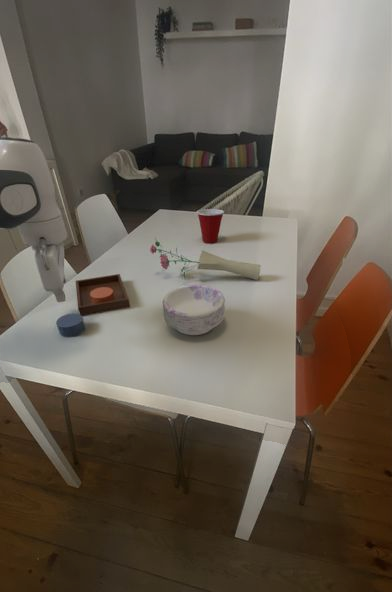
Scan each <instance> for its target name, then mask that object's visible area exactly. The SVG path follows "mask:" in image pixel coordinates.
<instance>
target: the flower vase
mask: <svg viewBox="0 0 392 592" xmlns="http://www.w3.org/2000/svg"><path fill="white" fill-rule="evenodd" d="M154 240H155V242H154V243H155V245H154V244H151V246H150V248H149V252H150V253H151V255H154V254H156V252H157V251H158V253H159V254H160V255H159V259H160V262H159V263H160V264H161V267H162V268H163V269H164V270H168V268H170V262H173V263H174V264H175V265H177V262H181V263H182V262H183V263H184V264H183V265H184V266H183V267H182V269H181V270H180V273H179V275H181V274H182V273H183V278H184V279H186V274H187V272H189V271H190V270H191V271H192V270H193V268H194V267H196V266H197V270H208V271H221V272H223V271H224V272H228V273H232V274H235V275H238V276H241V277H246V278H250V279H252V280H255V281H258V279H259V276H260V274H261V270H262V269H261V268H262V267H261V264H257V263H250V262H242V261H237V260H231V259H230V260H229V259H226V258H224V257H220V256H218V255H216V254H213V253H211V252H208V251H206V250H203V249H202V250H201V252H200V254H199V261H195V260H194V261H192V260H190V259H188V258H187V257H186V256H183V255H182V254H180V256H179V255H178V254H174V253H172V249H170V250H169V251H167V250H163V248H162V247H163V246H162V245H161V243H160V242H159V241H157V238H156V237H154ZM157 247H161V248H157ZM164 252H166V253H164ZM175 252H176V253H178V247H176V248H175ZM167 254H170V256H171V258H175V259H174V260H169V258H168V255H167ZM187 263H189V264H190V263H196V265H192V266H190V269H188V265H187ZM185 265H186V267H185ZM191 267H192V268H191ZM187 269H188V270H187Z"/></svg>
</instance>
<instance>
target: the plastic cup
mask: <svg viewBox="0 0 392 592" xmlns="http://www.w3.org/2000/svg"><path fill="white" fill-rule="evenodd" d="M196 214H197V216H198V220H199V226H200V233H201V237H202V241H203V243H204V244H209V245H210V244H212V245H213V244H216V243H217V242H218V239H219V234H220V229H221V224H222V219H223V217H224V214H225V211H224V210H222V209H216V208H208V209H207V208H205V209H199V210H197V211H196Z"/></svg>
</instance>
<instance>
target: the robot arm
mask: <svg viewBox="0 0 392 592" xmlns="http://www.w3.org/2000/svg"><path fill="white" fill-rule="evenodd" d="M14 228H17V229H18V230H17V231H18V232H19V235H20V238H21V240H22V243H23V244H24V245H26V246H29V247H31V249H32V251H33V252H34V261H35V264H36V269H37V272H38V274H39V278H40V281H41V284H42V287H43V289H44V291H46V292H49V293H50V292H52V293H53V296H54V297H55V300H56V302H57V303H63V302H66V295H65V291H64V284H66V282H67V278H66V275H65V247H64V241H65V240H67V238H68V231H67V228H66V224H65V221H64V218H63V214H62V211H61V208H60V207H59V205H58V202H57V198H56V187H55V184H54V180H53V177H52V173H51V170H50V168H49V164H48V162H47V159H46V156H45V155H44V153H43V151H42V149H41V147H40V145H38V143H36V142H34V141H33V140H31V139H26V138H19V137H9V136H8V137H6V136H4V137H3V136H2V137H0V230H9V229H14Z"/></svg>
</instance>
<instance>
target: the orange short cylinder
mask: <svg viewBox="0 0 392 592" xmlns="http://www.w3.org/2000/svg"><path fill="white" fill-rule="evenodd" d="M90 297H91V301H92V304H96V303H101V302H107V301H113V300H115V298H114V293H113V290H112V289H111V288H108V287H101V288H97V289H94V290H92V291H91V292H90Z"/></svg>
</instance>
